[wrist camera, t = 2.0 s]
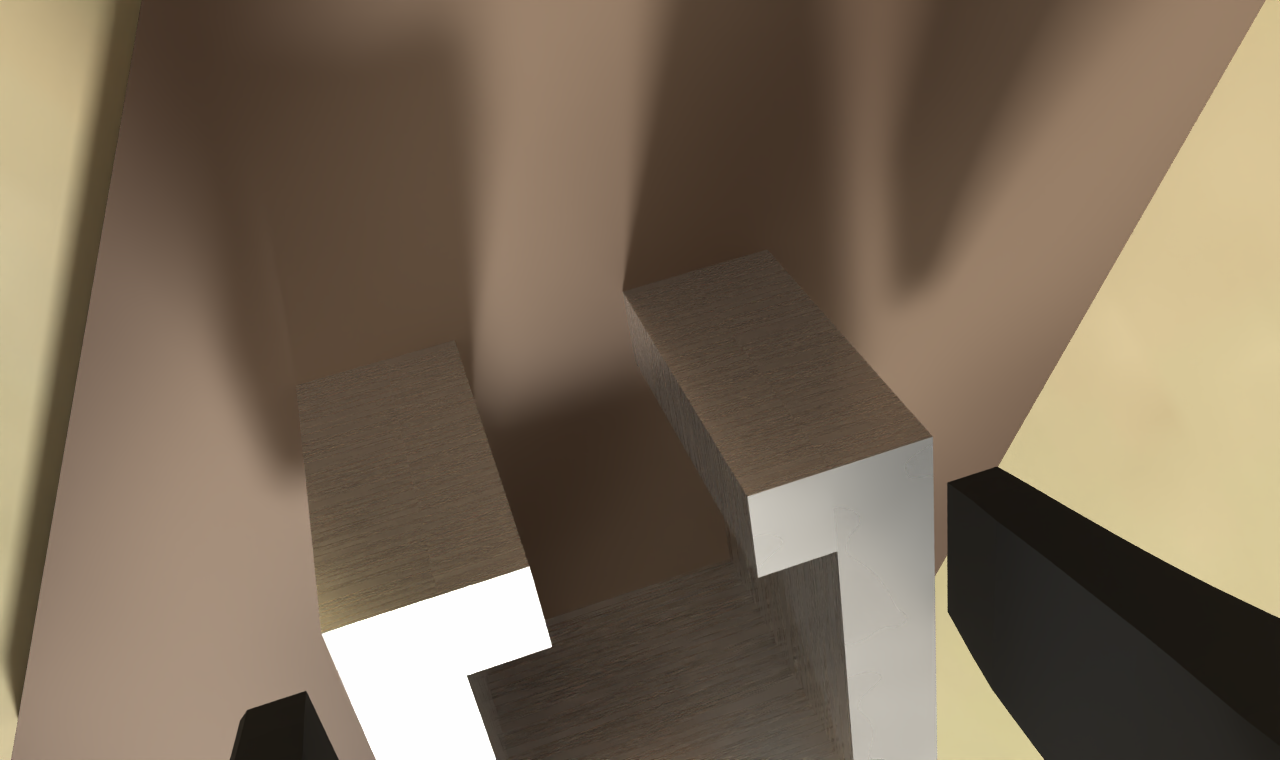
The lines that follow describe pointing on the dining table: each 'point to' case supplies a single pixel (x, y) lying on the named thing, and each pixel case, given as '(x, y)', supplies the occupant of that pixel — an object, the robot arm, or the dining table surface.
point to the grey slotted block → (659, 613)
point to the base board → (547, 282)
